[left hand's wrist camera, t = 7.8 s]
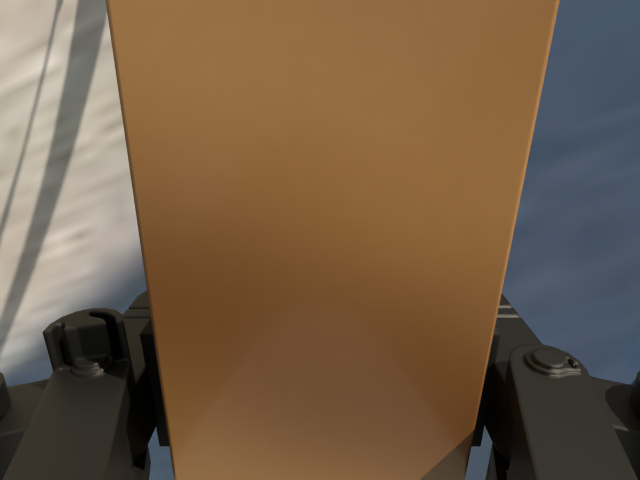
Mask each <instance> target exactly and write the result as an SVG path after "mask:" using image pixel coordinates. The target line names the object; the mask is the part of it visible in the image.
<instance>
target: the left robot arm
mask: <svg viewBox="0 0 640 480" xmlns="http://www.w3.org/2000/svg"><path fill="white" fill-rule="evenodd" d="M43 336H44V339H45V343H46V346H47V350H48V354H49V357H50V361H51V364H52V368H53V372H52V375H51V377H50V378H49V379H45V380H41V381H36V382H31V383H26V384H22V385H17V386H12V387H7V385H6V382H5V379H4V376H3V374H2V373H1V372H0V480H149V474H150V465H151V461H150V454H149V449H148V443H149V440H150V438H151V436H152V434H153V432H154V429H155V427H156V428H157V433H158V439H159V444H160V446H169V439H168V432H167V425H166V418H165V411H164V404H163V397H162V390H161V383H160V376H159V369H158V362H157V355H156V348H155V341H154V335H153V328H152V321H151V314H150V307H149V300H148V293H147V291H145V292H144V293H142V294H140V295H139V296H137V298H136V299H135V300H134V301H133V303H132V304H131V305H130V306H129V310H126V312H125V313H124V314H123V315H122V314H121V313H119V312H118V311H117V310H112V309H108V308H92V309H87V310H82V311H77V312H74V313H72V314H69V315H66V316H63V317H61V318H60V319H58V320H56V321H55V322H53V323H51V324H50V325H49V326H48V327H47V328H46V329H45V330H44V331H43ZM484 424H485V427H486V429H487V431H488V433H489V435H490V438H491V440H492V442H493V444H492V449H491V454H490V459H489V464H488V470H487V475H486V480H640V371H639V372H638V374H637V377H636V380H635V383H634V386H633V385H628V384H623V383H618V382H613V381H608V380H603V379H599V378H595V377H591V376H589V374H588V372H587V370H586V369H585V367H584V366H583V365H582V363H581V362H580V361H579V360H577V359H576V358H574V357H573V356H571V355H570V354H569V353H566V352H564V351H562V350H559V349H557V348H555V347H551V346H546V345H543V344H542V343H541V342H540V341H539V339H538V338H537V337H536V336H535V334H534V333H533V332H532V331H531V329H530V328H529V327H528V326H527V324H526V323H525V322H524V321H523V319H522V318H519V314H518V313H517V312H516V311H515V309H514V308H512V306H511V304H510V303H509V302H508V301H507V299H506V298H505V297H504V296H503V295H502V294H501V298H500V303H499V308H498V313H497V318H496V324H495V329H494V334H493V339H492V344H491V349H490V354H489V359H488V364H487V369H486V374H485V379H484V384H483V389H482V394H481V399H480V404H479V410H478V415H477V420H476V425H475V430H474V435H473V440H472V445H471V446H481V440H482V435H483V429H484Z"/></svg>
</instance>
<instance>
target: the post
mask: <svg viewBox="0 0 640 480" xmlns="http://www.w3.org/2000/svg"><path fill="white" fill-rule="evenodd" d="M558 5H559V0H106V6H107V13H108V20H109V27H110V34H111V41H112V48H113V55H114V62H115V69H116V76H117V83H118V90H119V97H120V104H121V111H122V118H123V125H124V132H125V139H126V146H127V153H128V160H129V167H130V174H131V181H132V188H133V195H134V202H135V209H136V216H137V223H138V230H139V237H140V244H141V251H142V258H143V265H144V272H145V279H146V286H147V293H148V300H149V307H150V314H151V321H152V328H153V335H154V341H155V348H156V355H157V362H158V369H159V376H160V383H161V390H162V397H163V404H164V411H165V418H166V425H167V432H168V439H169V446H170V453H171V460H172V467H173V474H174V480H465V475H466V470H467V465H468V460H469V455H470V450H471V445H472V440H473V435H474V430H475V425H476V420H477V415H478V410H479V404H480V399H481V394H482V389H483V384H484V379H485V374H486V369H487V364H488V359H489V354H490V349H491V344H492V339H493V334H494V329H495V324H496V318H497V313H498V308H499V303H500V298H501V293H502V288H503V283H504V278H505V273H506V268H507V263H508V258H509V253H510V248H511V243H512V238H513V232H514V227H515V222H516V217H517V212H518V207H519V202H520V197H521V192H522V187H523V182H524V177H525V172H526V167H527V162H528V157H529V152H530V147H531V141H532V136H533V131H534V126H535V121H536V116H537V111H538V106H539V101H540V96H541V91H542V86H543V81H544V76H545V71H546V66H547V61H548V55H549V50H550V45H551V40H552V35H553V30H554V25H555V20H556V15H557V10H558Z"/></svg>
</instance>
